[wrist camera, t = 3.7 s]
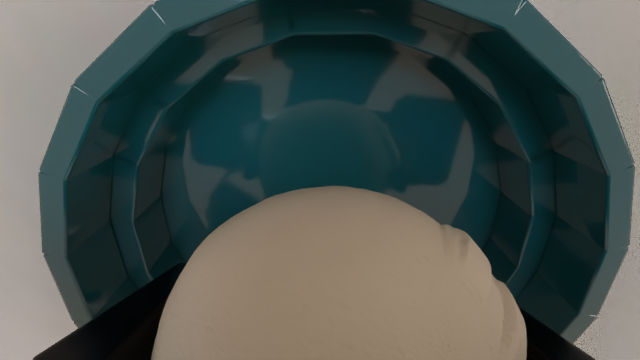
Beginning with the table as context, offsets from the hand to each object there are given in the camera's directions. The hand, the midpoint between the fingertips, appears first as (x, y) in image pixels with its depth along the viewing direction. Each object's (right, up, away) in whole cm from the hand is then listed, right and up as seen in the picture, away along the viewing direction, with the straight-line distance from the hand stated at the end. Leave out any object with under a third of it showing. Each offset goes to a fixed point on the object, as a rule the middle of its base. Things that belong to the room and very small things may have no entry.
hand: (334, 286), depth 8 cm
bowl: (0, +2, +4) cm, 4 cm away
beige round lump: (0, +1, +2) cm, 2 cm away
